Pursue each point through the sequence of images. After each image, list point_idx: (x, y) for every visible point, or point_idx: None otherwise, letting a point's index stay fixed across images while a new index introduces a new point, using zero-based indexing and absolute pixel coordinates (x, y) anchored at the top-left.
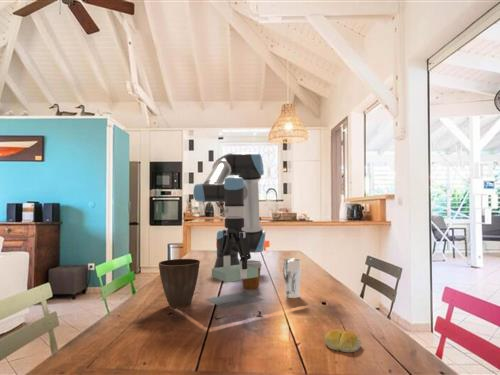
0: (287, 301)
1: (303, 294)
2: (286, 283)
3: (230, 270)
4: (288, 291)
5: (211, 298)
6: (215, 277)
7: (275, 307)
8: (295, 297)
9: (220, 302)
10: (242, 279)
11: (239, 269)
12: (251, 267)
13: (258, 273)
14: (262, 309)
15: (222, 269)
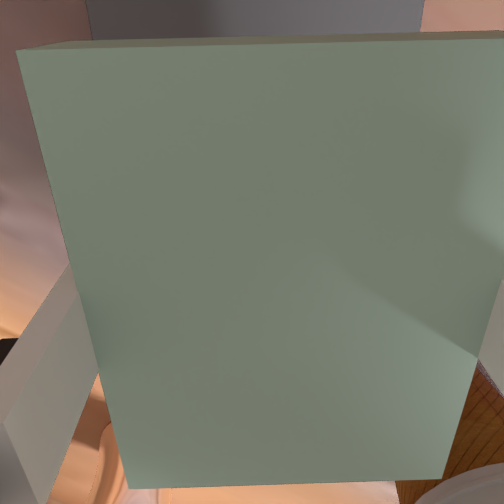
0: (103, 401)
1: (175, 497)
2: (117, 498)
3: (221, 230)
4: (118, 457)
5: (403, 20)
6: (386, 33)
7: (25, 307)
8: (99, 447)
9: (246, 29)
10: (486, 388)
11: (208, 347)
12: (226, 474)
13: (397, 491)
14: (15, 231)
15: (366, 165)
